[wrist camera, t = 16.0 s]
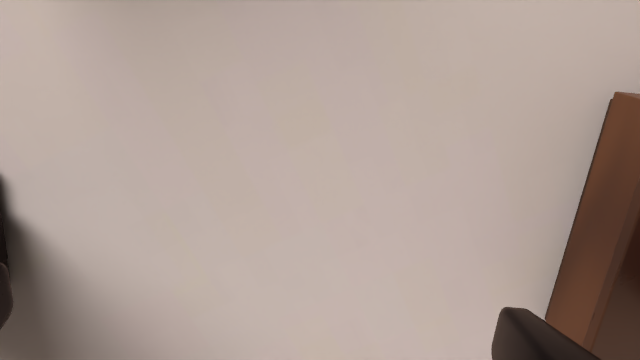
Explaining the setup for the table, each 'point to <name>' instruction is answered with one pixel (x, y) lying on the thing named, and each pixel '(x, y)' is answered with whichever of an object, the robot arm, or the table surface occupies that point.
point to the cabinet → (605, 245)
